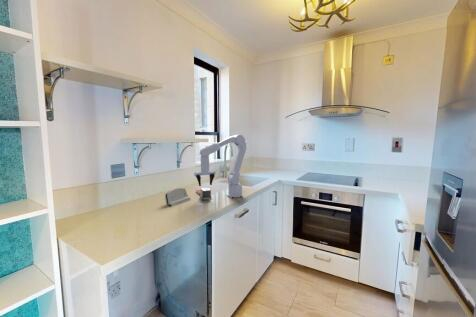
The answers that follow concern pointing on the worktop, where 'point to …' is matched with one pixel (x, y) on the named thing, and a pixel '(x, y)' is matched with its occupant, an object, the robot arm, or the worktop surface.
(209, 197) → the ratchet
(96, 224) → the worktop surface
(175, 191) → the white electronic device
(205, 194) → the brushed grey cube
